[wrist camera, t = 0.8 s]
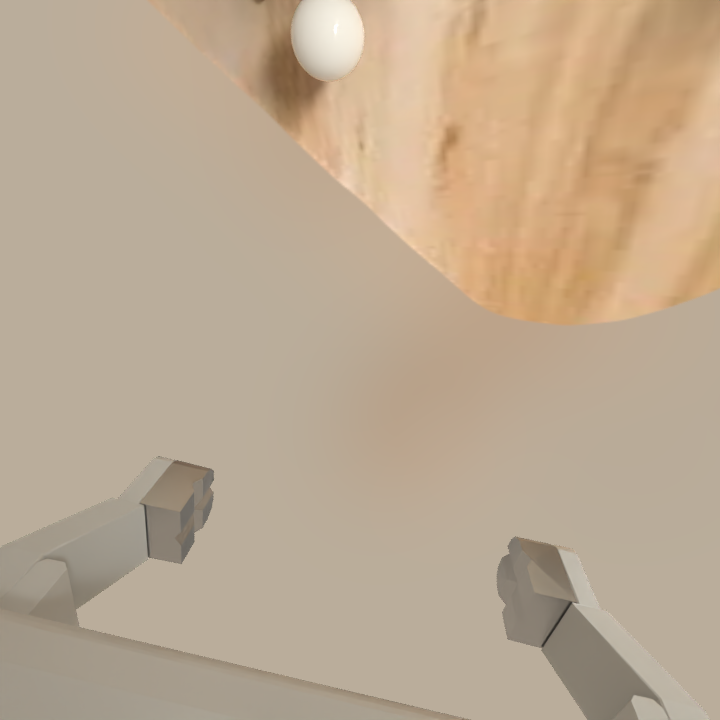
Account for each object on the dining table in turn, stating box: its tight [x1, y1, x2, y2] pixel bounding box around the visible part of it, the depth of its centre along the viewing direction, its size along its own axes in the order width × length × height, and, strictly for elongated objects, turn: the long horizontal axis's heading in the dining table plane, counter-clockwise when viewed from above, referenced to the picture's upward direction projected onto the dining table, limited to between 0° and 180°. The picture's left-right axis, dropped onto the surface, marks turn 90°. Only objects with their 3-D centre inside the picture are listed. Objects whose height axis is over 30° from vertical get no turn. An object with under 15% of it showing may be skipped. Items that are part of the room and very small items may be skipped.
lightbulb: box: [291, 0, 364, 82], centre depth 37 cm, size 6×6×11 cm
